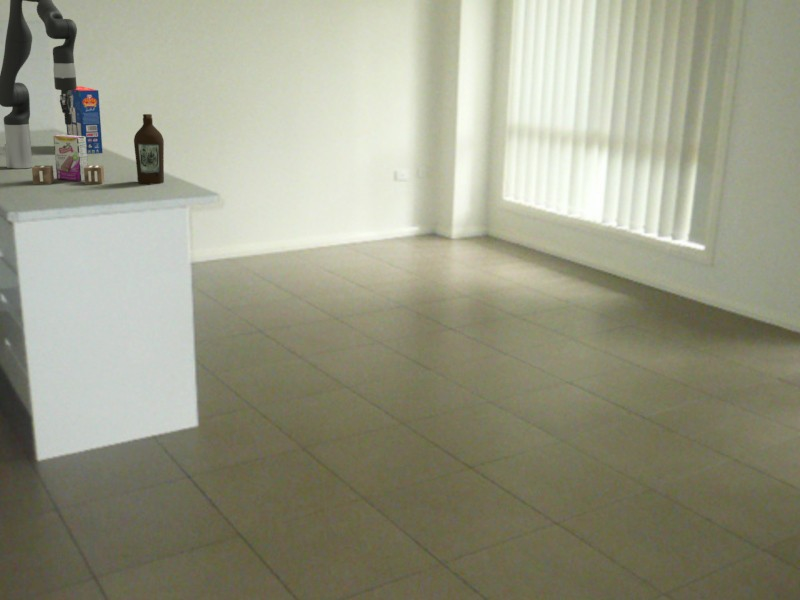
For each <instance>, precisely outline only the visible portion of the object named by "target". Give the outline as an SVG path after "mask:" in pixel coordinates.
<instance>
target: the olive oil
mask: <svg viewBox="0 0 800 600" xmlns="http://www.w3.org/2000/svg"><path fill="white" fill-rule="evenodd" d="M142 116H143V117H142V126H141V127H140V128H139V129H138V130H137V131H136V133H135V135H134V137H133V144H134V145H133V146H134V147H133V148H134V153H135V154H134V156H135V163H136V175H137V183H138V184H141V185H158V184H164V181H165V170H164V166H165V165H164V163H165V161H164V160H165V159H164V157H165V156H164V155H165V154H164V146H165V142H164V138H163V135H162V133H161V132H160V131H159V130H158V129H157V128H156V126H154V124H153V122H154V121H153V114H151V113H145V114H142Z"/></svg>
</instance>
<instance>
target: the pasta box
mask: <svg viewBox="0 0 800 600" xmlns="http://www.w3.org/2000/svg"><path fill="white" fill-rule="evenodd" d="M71 95H73V99H74V100H73V112H72V114H71V116H72V124H71V125H66V124H65V126H66V135H74V136H85V137H86V147H87V155H90V154H91V155H94V154H103V152H104V151H103V141H102V140H103V139H102V138H103V137H102V125H101V111H100V108H101V107H100V95H99V90H98V89H94V88H90V87H85V86H77V89H75V90H71Z"/></svg>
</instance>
